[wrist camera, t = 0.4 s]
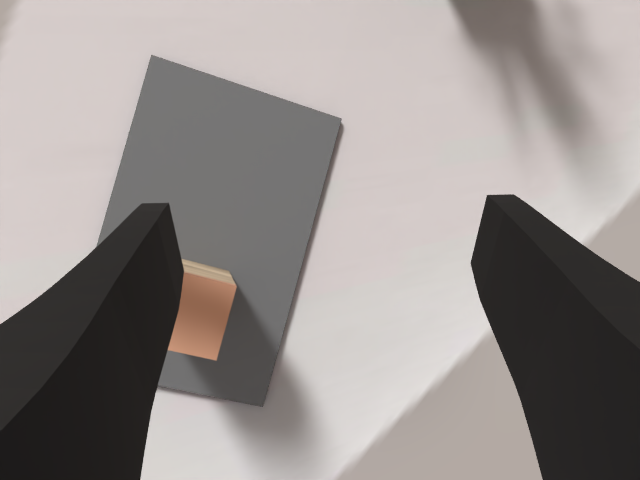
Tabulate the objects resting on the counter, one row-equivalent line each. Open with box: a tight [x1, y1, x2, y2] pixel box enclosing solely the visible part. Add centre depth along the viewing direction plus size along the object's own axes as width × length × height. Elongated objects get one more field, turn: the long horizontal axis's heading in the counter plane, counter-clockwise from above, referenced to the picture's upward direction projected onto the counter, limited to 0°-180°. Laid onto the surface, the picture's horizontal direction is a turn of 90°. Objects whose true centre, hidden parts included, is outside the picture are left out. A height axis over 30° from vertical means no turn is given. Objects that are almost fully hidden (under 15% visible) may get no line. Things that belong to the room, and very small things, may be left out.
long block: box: [168, 259, 237, 360], centre depth 32 cm, size 4×4×10 cm
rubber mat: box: [97, 55, 341, 407], centre depth 37 cm, size 22×14×1 cm, turn 165°
